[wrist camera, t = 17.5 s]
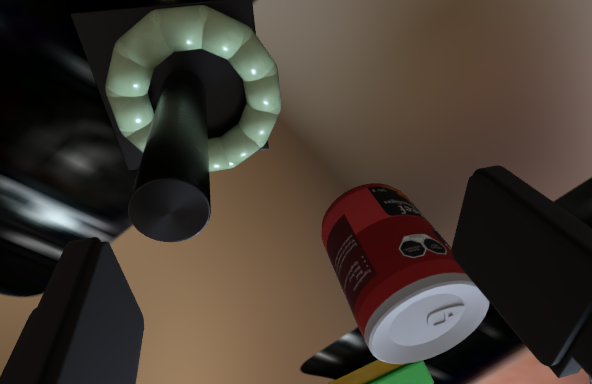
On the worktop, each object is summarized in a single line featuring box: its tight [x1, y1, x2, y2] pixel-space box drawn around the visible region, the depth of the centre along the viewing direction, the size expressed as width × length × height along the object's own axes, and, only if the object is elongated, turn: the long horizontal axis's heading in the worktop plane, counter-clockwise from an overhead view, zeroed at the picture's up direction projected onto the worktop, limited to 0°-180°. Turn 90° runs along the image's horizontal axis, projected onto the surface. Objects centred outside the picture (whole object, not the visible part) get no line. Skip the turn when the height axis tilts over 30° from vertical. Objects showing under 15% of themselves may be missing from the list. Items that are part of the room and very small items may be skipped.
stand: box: [71, 0, 269, 242], centre depth 16 cm, size 9×9×13 cm
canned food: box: [322, 184, 489, 364], centre depth 26 cm, size 8×8×11 cm
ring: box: [105, 5, 281, 172], centre depth 20 cm, size 9×9×2 cm
